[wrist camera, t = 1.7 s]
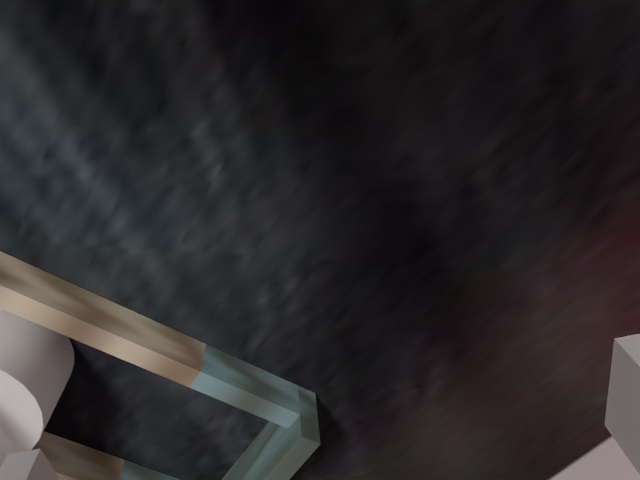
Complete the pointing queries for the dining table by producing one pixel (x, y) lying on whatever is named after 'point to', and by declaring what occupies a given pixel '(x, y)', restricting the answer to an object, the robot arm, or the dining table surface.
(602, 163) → the dining table surface
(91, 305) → the bay
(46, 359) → the cylinder with rectangular tab
